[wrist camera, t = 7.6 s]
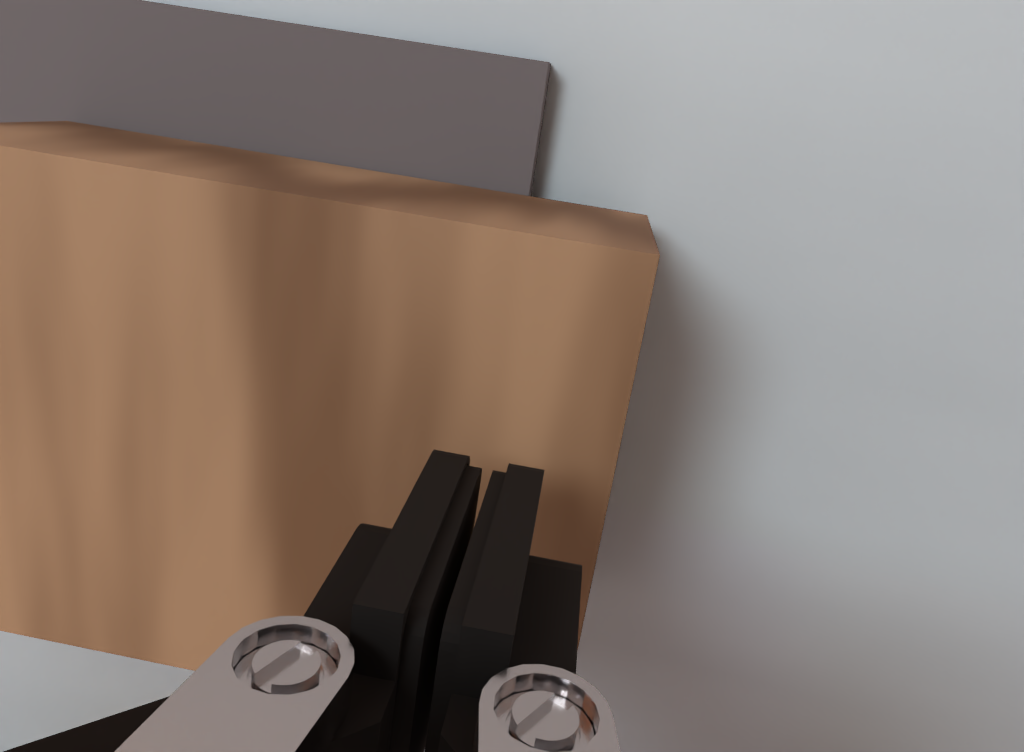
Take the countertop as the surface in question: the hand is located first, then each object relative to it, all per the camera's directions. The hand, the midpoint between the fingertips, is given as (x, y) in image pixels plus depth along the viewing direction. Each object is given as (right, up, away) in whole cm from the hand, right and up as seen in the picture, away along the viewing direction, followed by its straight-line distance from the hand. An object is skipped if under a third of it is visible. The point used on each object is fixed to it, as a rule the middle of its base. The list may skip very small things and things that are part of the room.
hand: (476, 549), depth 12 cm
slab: (+2, +1, +3) cm, 4 cm away
